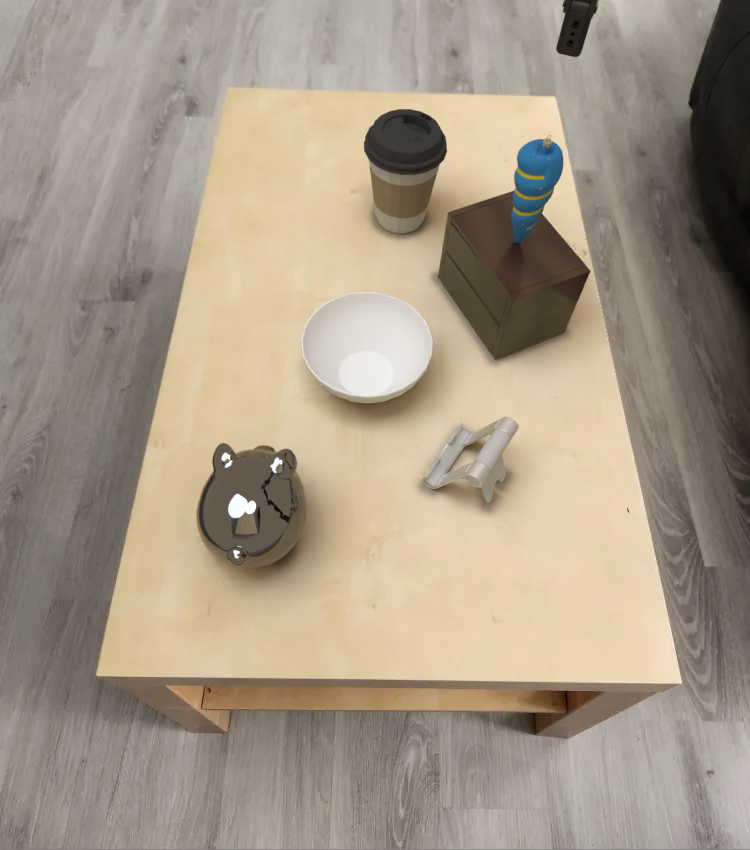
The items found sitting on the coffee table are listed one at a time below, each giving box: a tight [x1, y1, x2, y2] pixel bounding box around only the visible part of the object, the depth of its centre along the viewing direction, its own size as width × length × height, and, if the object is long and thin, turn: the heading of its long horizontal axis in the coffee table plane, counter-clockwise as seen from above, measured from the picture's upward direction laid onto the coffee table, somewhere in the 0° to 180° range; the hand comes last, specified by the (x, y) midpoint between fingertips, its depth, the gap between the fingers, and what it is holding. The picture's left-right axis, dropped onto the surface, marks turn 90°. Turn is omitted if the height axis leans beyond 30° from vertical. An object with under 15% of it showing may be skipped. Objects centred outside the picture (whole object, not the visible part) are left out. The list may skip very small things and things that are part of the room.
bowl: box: [300, 290, 434, 404], centre depth 85 cm, size 16×16×7 cm
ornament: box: [511, 135, 564, 243], centre depth 78 cm, size 5×5×15 cm
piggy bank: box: [196, 442, 307, 570], centre depth 72 cm, size 11×15×12 cm
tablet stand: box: [422, 416, 520, 504], centre depth 78 cm, size 9×8×8 cm
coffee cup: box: [363, 108, 448, 235], centre depth 97 cm, size 11×11×15 cm
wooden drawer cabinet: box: [437, 190, 591, 361], centre depth 90 cm, size 11×16×12 cm
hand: (576, 27), depth 62 cm, fingers open, 8 cm apart
